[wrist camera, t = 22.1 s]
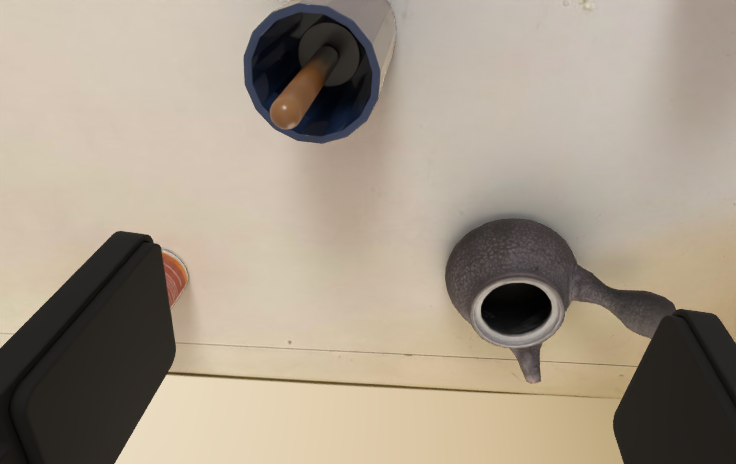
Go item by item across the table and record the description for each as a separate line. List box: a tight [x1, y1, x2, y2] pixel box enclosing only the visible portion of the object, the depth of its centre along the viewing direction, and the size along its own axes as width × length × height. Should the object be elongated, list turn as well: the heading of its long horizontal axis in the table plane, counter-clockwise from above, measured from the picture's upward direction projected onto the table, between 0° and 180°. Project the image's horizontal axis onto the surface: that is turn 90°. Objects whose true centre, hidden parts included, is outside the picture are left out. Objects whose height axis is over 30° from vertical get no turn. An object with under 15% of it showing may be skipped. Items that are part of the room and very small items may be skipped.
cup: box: [244, 0, 396, 144], centre depth 38 cm, size 8×8×14 cm
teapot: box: [445, 219, 676, 384], centre depth 49 cm, size 19×15×10 cm
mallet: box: [270, 15, 366, 129], centre depth 35 cm, size 4×4×20 cm
